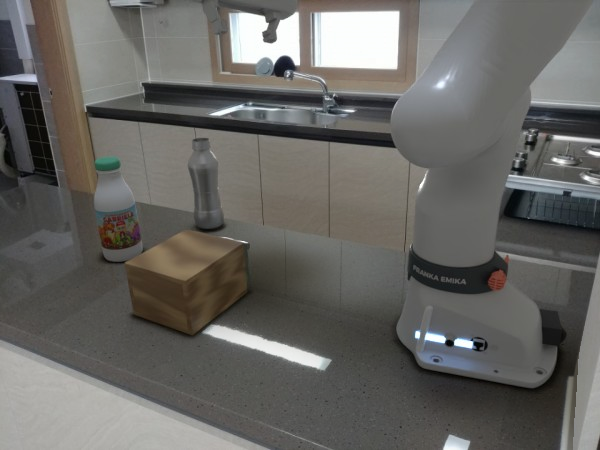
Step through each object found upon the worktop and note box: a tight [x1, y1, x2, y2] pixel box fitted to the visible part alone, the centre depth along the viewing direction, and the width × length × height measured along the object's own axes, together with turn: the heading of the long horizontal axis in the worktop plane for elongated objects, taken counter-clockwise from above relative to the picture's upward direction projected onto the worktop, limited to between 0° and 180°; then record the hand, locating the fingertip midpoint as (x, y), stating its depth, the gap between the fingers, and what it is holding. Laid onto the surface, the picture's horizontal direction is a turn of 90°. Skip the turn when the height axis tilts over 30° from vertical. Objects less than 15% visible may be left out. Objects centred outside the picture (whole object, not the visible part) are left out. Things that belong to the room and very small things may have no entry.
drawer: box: [195, 230, 251, 285], centre depth 93 cm, size 18×11×8 cm, turn 150°
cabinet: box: [124, 228, 248, 336], centre depth 89 cm, size 15×13×10 cm
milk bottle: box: [93, 156, 144, 263], centre depth 105 cm, size 8×8×20 cm
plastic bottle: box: [187, 137, 225, 230], centre depth 117 cm, size 6×7×20 cm
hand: (246, 38), depth 81 cm, fingers open, 8 cm apart
